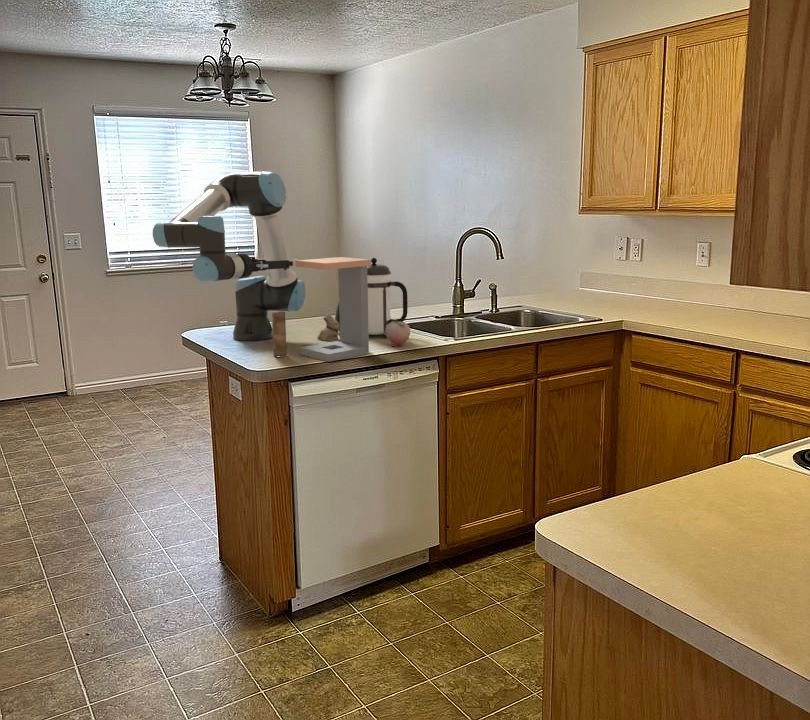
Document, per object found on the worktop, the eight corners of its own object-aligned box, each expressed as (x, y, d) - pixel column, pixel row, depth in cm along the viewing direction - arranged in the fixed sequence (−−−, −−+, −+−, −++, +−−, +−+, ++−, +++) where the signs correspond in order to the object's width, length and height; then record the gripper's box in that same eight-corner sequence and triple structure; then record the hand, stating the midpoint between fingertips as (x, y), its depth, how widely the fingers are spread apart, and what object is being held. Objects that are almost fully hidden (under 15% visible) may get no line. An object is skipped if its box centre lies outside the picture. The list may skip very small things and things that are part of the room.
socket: (300, 354, 255) (296, 260, 248) (343, 346, 267) (341, 257, 260) (328, 361, 243) (325, 263, 236) (372, 353, 256) (370, 259, 249)
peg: (271, 355, 253) (269, 312, 250) (282, 353, 256) (280, 310, 253) (278, 357, 250) (276, 313, 246) (289, 355, 253) (287, 312, 249)
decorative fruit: (415, 346, 267) (415, 318, 265) (398, 349, 262) (398, 321, 260) (398, 342, 274) (398, 315, 272) (381, 345, 269) (381, 318, 267)
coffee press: (371, 341, 276) (369, 260, 270) (348, 335, 289) (346, 257, 283) (408, 336, 286) (408, 257, 280) (385, 330, 299) (384, 255, 292)
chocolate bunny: (332, 341, 277) (332, 315, 275) (316, 339, 281) (315, 313, 279) (341, 339, 282) (340, 312, 279) (325, 337, 286) (324, 311, 283)
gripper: (210, 277, 240) (257, 272, 258) (265, 279, 228) (310, 274, 246) (209, 253, 239) (256, 250, 257) (264, 255, 226) (309, 251, 245)
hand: (283, 262), depth 251 cm, fingers open, 11 cm apart
